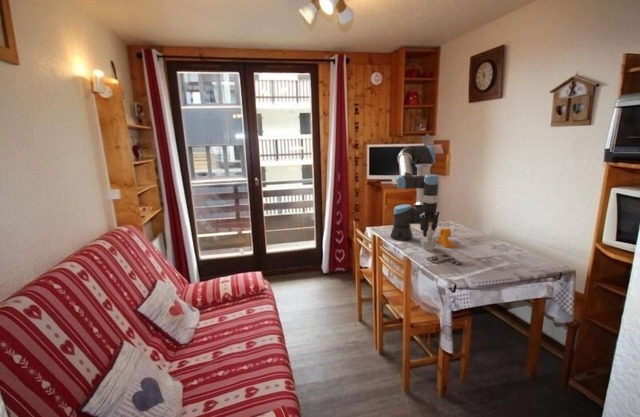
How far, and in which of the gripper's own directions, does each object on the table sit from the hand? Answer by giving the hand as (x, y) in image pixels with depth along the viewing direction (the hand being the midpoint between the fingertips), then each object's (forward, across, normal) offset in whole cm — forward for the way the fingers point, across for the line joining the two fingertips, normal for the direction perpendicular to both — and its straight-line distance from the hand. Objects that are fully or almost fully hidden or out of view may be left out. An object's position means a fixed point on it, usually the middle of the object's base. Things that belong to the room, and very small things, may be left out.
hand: (428, 240), depth 188 cm
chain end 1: (+9, +1, -9) cm, 12 cm away
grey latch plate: (+10, +6, -13) cm, 17 cm away
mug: (+11, +8, +9) cm, 17 cm away
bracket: (+11, +24, +8) cm, 28 cm away
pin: (+2, 0, 0) cm, 2 cm away
